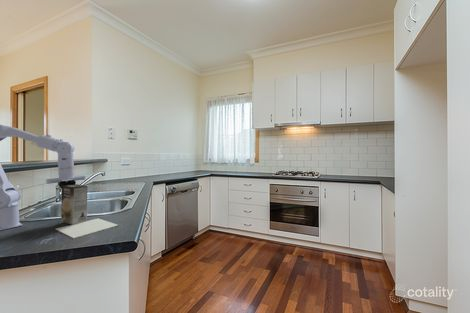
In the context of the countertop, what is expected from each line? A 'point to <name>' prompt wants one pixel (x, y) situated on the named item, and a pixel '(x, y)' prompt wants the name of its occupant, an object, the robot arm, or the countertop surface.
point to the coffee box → (74, 204)
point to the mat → (86, 228)
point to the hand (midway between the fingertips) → (67, 197)
